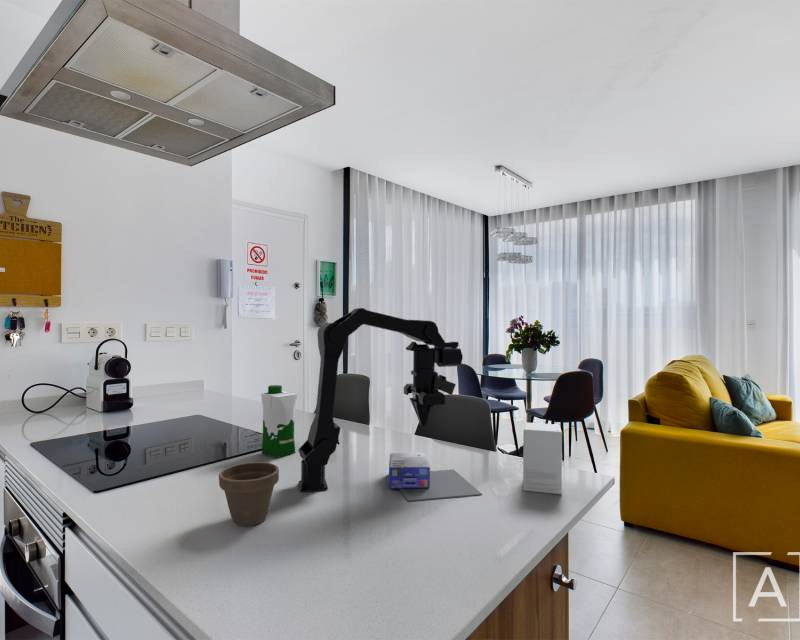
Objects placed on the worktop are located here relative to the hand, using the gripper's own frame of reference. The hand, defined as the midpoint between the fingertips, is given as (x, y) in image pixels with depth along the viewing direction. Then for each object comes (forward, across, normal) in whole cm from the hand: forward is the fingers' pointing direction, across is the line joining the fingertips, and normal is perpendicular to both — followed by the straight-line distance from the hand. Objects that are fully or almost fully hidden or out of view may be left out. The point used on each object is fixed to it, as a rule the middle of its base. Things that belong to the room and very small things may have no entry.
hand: (423, 425), depth 124 cm
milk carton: (+13, +26, +37) cm, 47 cm away
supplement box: (+13, -16, -26) cm, 33 cm away
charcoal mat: (+12, -9, 0) cm, 15 cm away
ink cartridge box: (+10, 0, +4) cm, 10 cm away
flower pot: (+12, -20, +43) cm, 49 cm away
